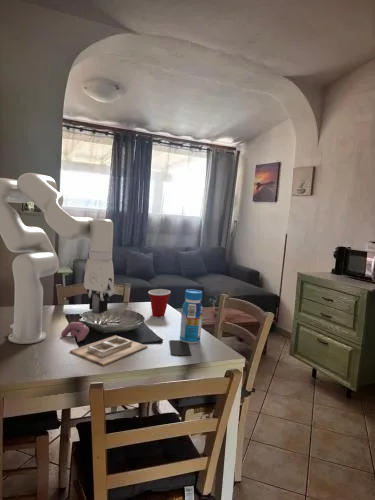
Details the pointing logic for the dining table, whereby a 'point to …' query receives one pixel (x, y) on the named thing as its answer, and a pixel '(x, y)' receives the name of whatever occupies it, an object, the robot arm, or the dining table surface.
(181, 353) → the phone
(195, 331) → the beverage bottle
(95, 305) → the cylinder
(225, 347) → the dining table surface
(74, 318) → the dining table surface
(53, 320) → the dining table surface
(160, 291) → the plastic cup
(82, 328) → the video game controller
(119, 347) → the tray
